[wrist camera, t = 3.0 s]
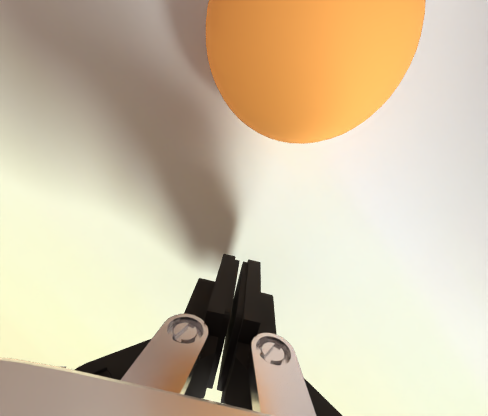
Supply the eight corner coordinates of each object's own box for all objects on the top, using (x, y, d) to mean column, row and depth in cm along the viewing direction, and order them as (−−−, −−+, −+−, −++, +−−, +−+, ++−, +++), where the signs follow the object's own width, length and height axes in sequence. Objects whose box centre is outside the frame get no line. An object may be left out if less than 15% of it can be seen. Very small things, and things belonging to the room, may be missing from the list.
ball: (392, -1, 10) (567, -184, 4) (341, 155, 12) (418, 175, 6) (239, -37, 10) (208, -267, 4) (209, 124, 12) (158, 112, 6)
